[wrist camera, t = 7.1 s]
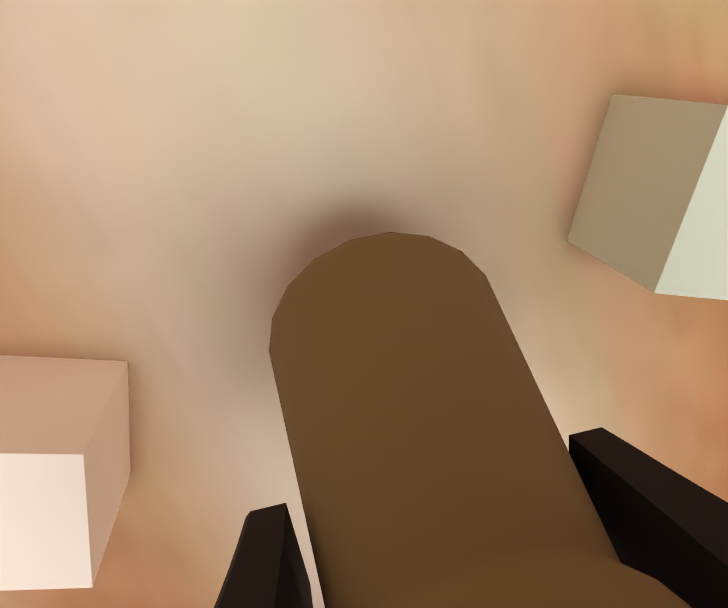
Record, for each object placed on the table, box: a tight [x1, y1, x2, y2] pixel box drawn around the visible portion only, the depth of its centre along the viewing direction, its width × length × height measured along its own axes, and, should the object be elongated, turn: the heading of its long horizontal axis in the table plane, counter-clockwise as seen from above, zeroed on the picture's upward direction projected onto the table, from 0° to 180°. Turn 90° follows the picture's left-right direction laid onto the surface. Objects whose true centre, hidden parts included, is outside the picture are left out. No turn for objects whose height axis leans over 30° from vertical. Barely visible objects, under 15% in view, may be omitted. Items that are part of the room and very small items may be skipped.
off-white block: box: [0, 355, 131, 591], centre depth 17 cm, size 5×5×5 cm
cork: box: [269, 232, 692, 608], centre depth 9 cm, size 6×6×11 cm
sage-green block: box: [567, 94, 728, 300], centre depth 17 cm, size 5×5×5 cm
